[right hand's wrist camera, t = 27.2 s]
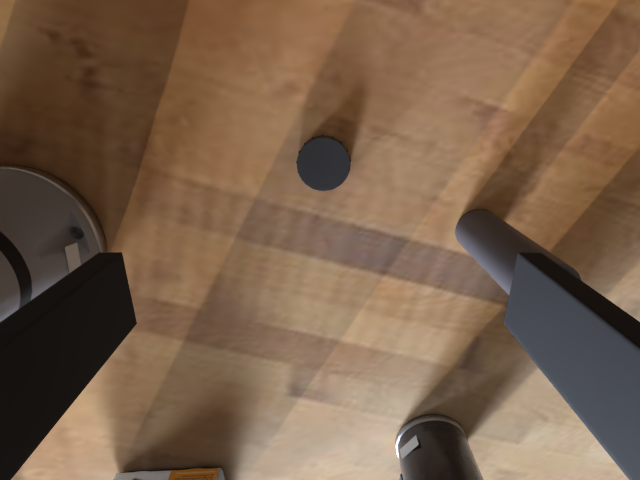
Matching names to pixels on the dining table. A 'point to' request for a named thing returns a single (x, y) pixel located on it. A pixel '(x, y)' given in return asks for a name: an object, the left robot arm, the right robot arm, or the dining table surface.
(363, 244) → the dining table surface
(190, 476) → the hard drive box
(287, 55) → the dining table surface
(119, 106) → the dining table surface
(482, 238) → the bottle
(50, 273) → the right robot arm
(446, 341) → the dining table surface
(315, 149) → the lid
